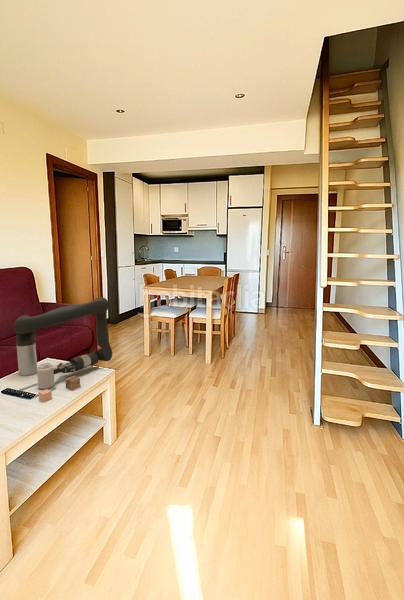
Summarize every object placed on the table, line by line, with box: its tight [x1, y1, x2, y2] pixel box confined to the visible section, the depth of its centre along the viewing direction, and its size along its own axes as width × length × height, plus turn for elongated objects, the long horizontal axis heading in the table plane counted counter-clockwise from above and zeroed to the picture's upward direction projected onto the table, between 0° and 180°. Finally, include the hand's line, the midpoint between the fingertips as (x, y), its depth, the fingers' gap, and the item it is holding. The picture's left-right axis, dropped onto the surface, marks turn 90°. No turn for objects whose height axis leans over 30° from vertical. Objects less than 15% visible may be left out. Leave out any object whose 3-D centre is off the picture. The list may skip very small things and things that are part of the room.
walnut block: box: [64, 375, 81, 391], centre depth 155 cm, size 5×5×5 cm
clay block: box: [37, 388, 53, 403], centre depth 142 cm, size 4×4×4 cm
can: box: [36, 362, 55, 390], centre depth 154 cm, size 8×8×12 cm
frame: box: [18, 382, 57, 399], centre depth 152 cm, size 14×12×1 cm
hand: (52, 372), depth 158 cm, fingers closed
